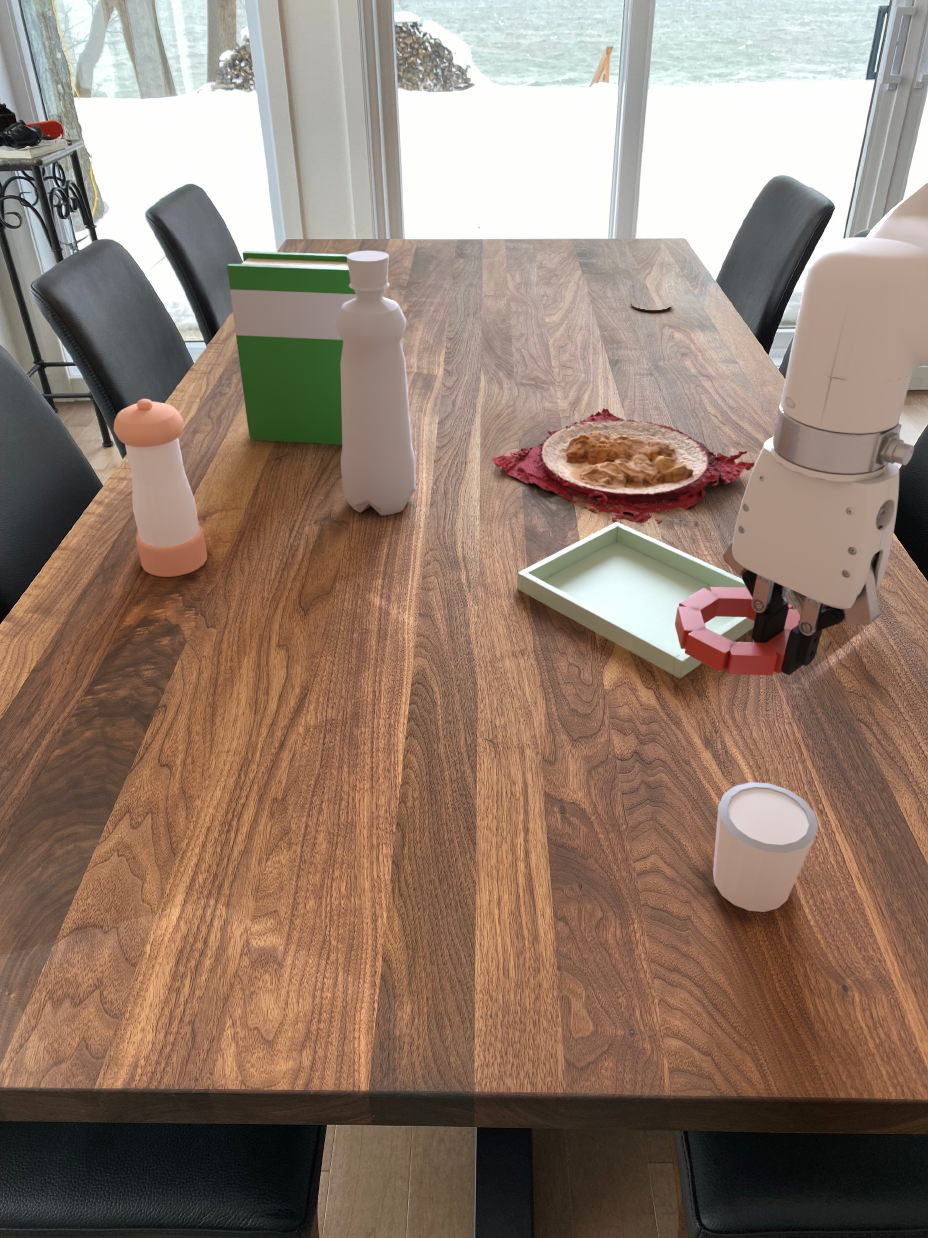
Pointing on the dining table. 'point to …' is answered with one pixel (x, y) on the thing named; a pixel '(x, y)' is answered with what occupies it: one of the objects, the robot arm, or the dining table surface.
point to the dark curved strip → (649, 310)
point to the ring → (720, 649)
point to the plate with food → (623, 466)
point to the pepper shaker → (160, 490)
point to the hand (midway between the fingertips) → (780, 657)
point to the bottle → (374, 392)
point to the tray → (630, 592)
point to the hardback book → (290, 343)
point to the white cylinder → (761, 844)
